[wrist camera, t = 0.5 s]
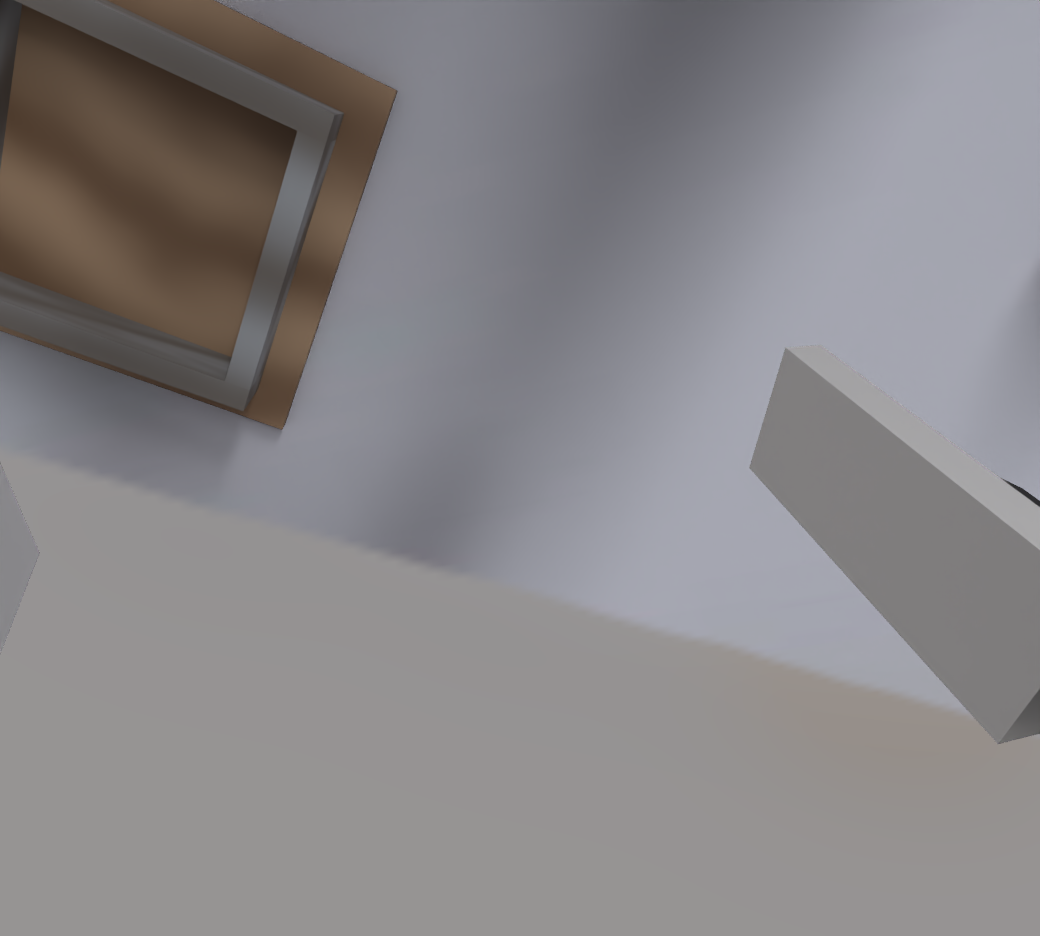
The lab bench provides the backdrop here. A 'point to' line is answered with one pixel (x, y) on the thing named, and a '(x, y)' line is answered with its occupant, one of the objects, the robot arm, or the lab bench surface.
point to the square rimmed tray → (177, 191)
